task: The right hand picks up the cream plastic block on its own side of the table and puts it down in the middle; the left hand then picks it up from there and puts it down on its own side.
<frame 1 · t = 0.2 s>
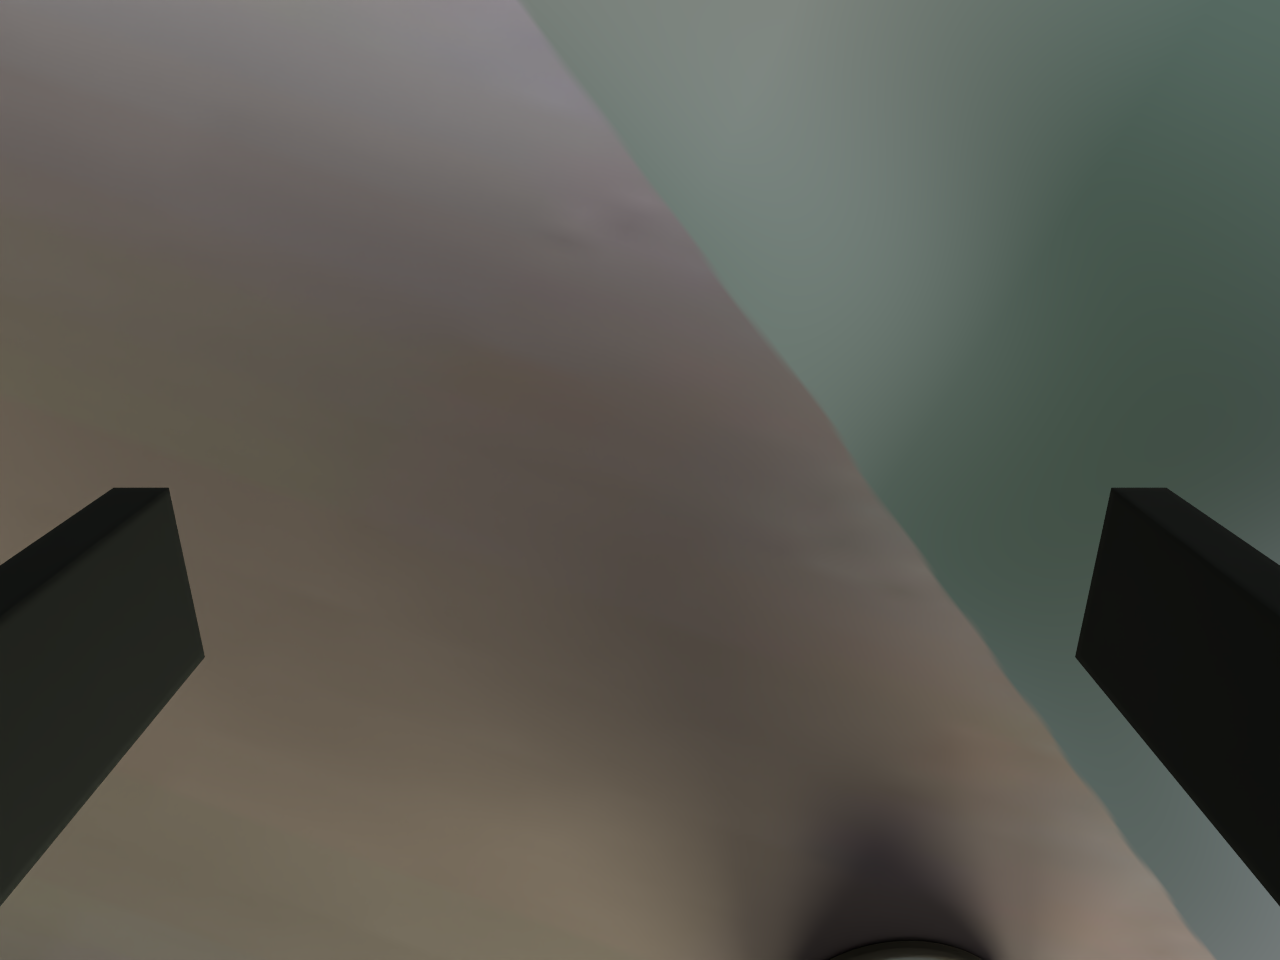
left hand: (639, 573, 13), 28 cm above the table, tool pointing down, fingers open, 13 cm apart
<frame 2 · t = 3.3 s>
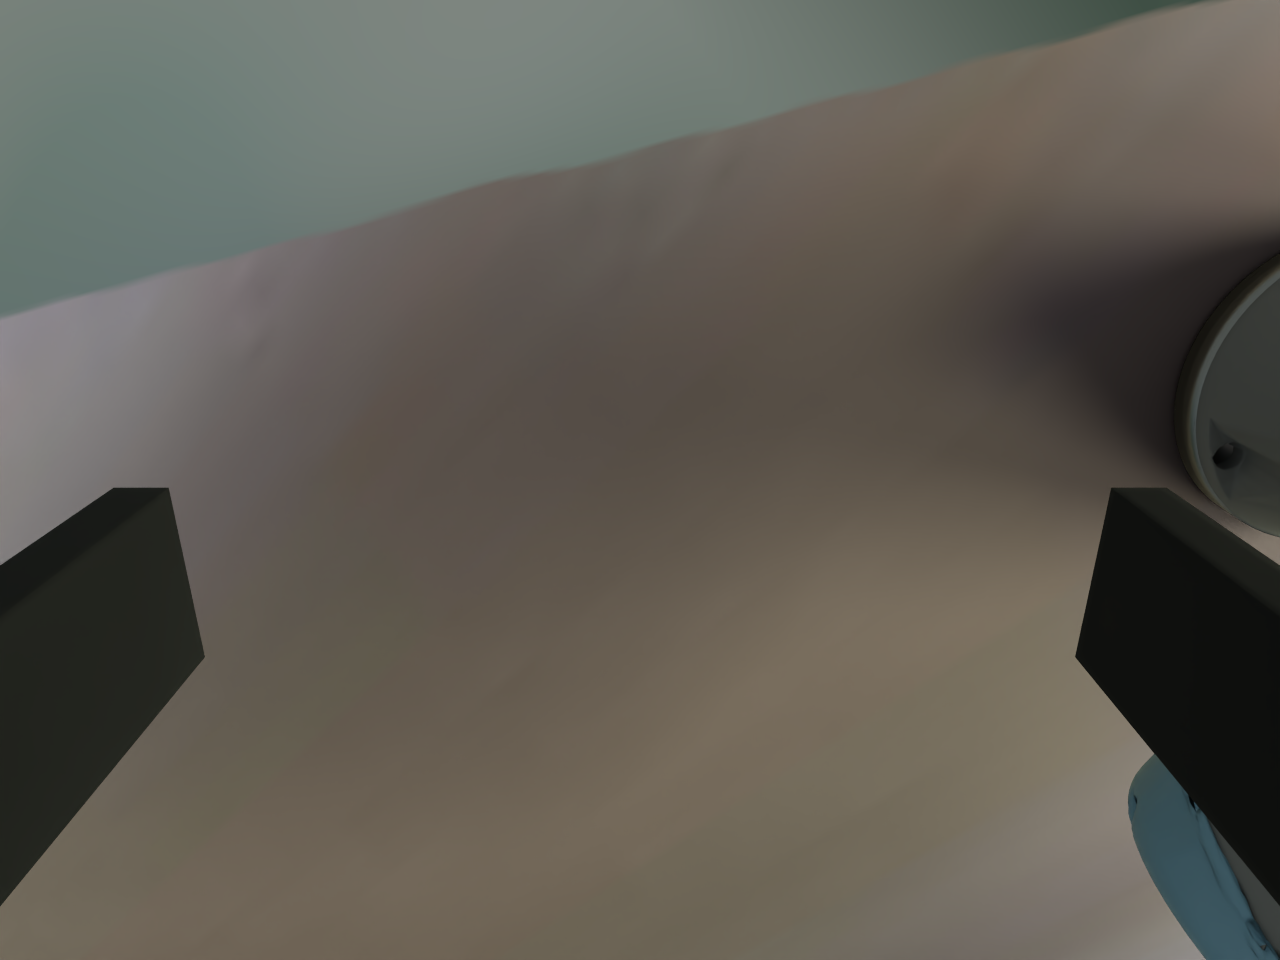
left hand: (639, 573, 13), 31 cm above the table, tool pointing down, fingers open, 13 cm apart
when the right hand's fingers open (2 cm above the table, at t = 8.7 s): block drops 1 cm, on the table.
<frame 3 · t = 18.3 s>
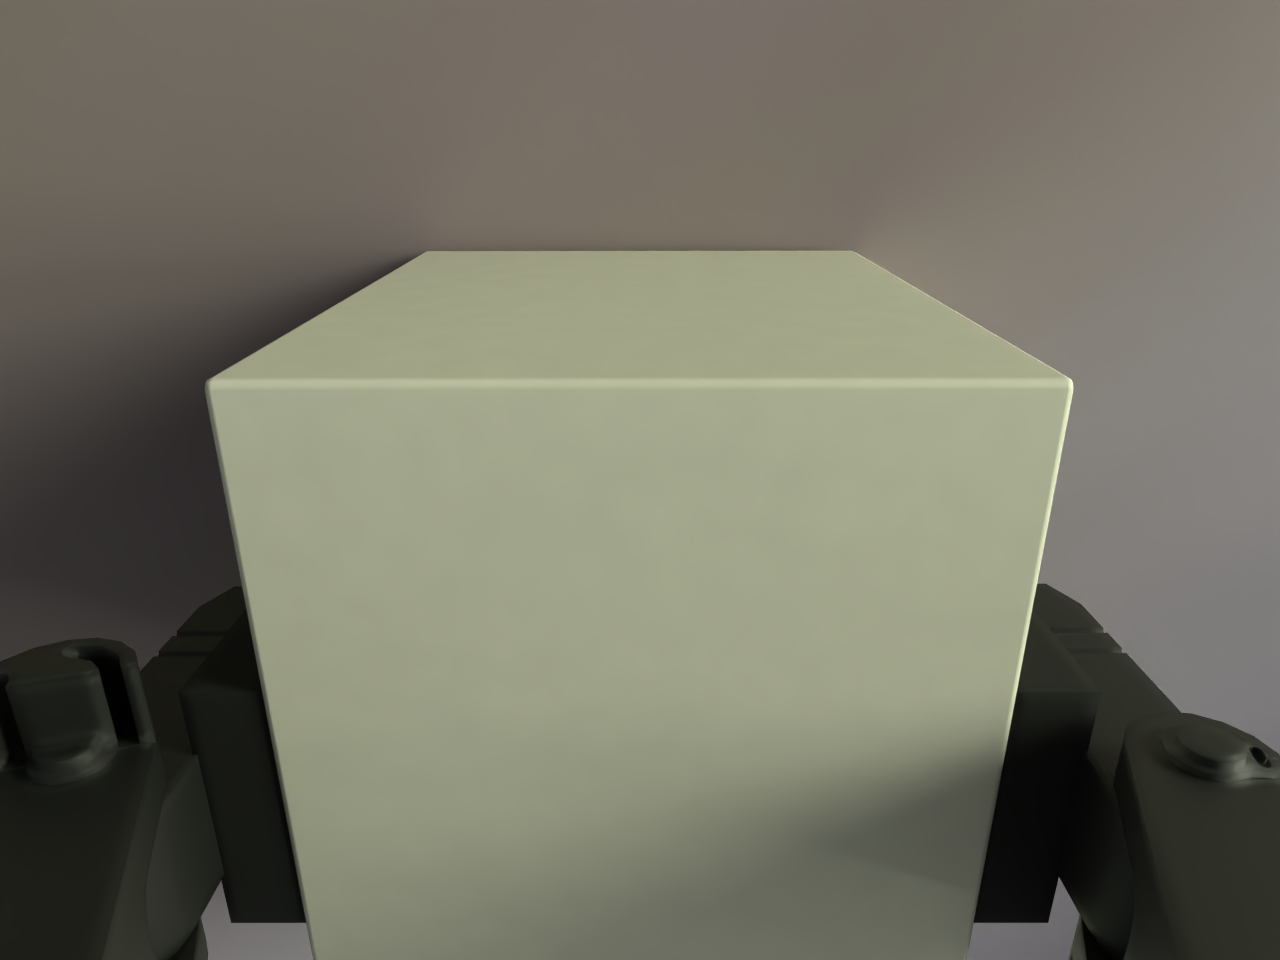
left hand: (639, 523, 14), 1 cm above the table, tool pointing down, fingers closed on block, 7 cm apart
block: (639, 499, 15), on the table, touching left hand
when the left hand's fingers open (2 cm above the table, at t = 25.6 s): block stays where it is, on the table.
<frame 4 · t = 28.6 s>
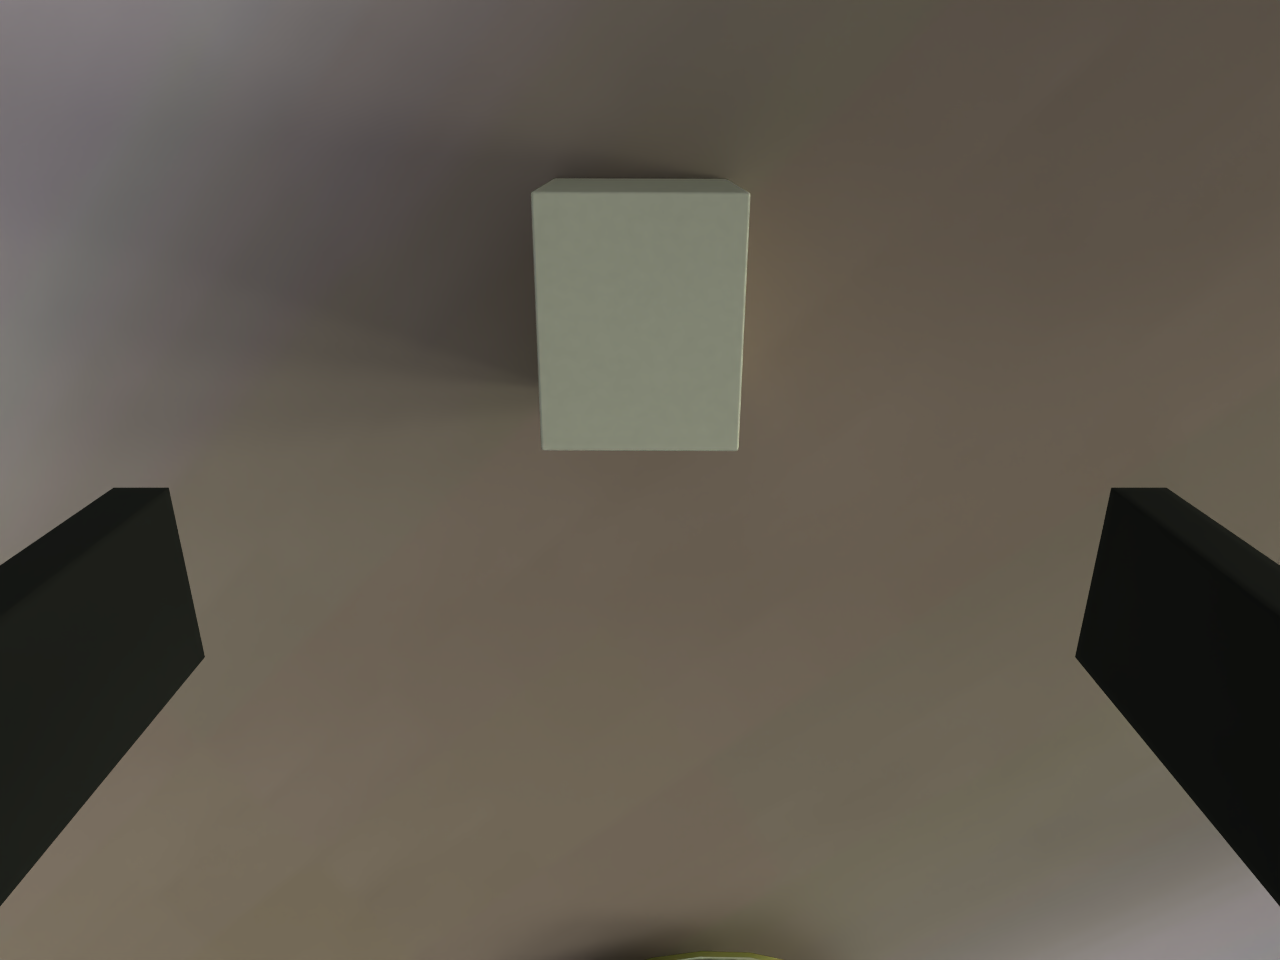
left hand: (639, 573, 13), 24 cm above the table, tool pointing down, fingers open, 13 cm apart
block: (640, 288, 35), on the table
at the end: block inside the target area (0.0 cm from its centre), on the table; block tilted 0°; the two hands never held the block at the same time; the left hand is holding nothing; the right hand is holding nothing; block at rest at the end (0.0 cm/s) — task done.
